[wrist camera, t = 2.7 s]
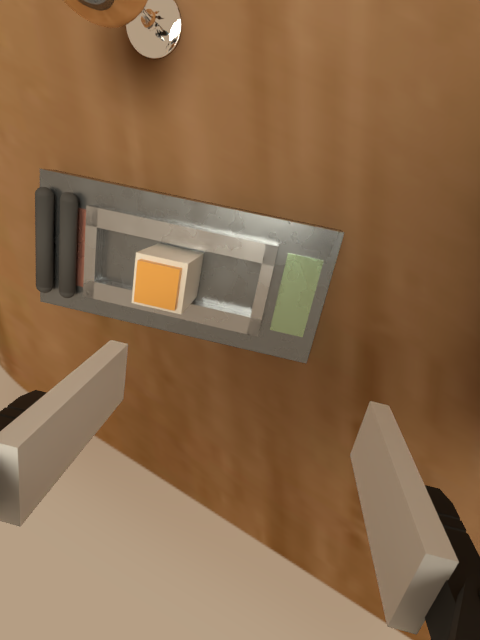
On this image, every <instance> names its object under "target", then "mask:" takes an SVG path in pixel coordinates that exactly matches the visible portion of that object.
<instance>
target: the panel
mask: <svg viewBox="0 0 480 640" xmlns="http://www.w3.org/2000/svg"><path fill="white" fill-rule="evenodd" d="M40 187H47V188H49V189H50V190H51V191H52V192H53V194H54V249H53V289H52V290H51V291H50V292H48V293H42V292H40V299H41V302H45V303H50V304H54V305H58V306H63V307H67V308H71V309H75V310H80V311H84V312H88V313H93V314H97V315H101V316H105V317H110V318H114V319H118V320H123V321H127V322H131V323H135V324H140V325H144V326H148V327H152V328H157V329H161V330H165V331H170V332H174V333H178V334H182V335H187V336H191V337H195V338H200V339H204V340H208V341H212V342H217V343H221V344H225V345H230V346H234V347H238V348H242V349H247V350H251V351H255V352H259V353H264V354H268V355H272V356H277V357H281V358H285V359H289V360H294V361H298V362H302V363H307V360H308V357H309V353H310V350H311V346H312V343H313V339H314V336H315V332H316V329H317V325H318V322H319V319H320V315H321V312H322V308H323V305H324V301H325V298H326V294H327V291H328V287H329V284H330V280H331V277H332V273H333V270H334V266H335V263H336V260H337V256H338V253H339V249H340V246H341V242H342V239H343V235H344V232H343V231H341V230H338V229H333V228H328V227H323V226H319V225H314V224H309V223H304V222H300V221H295V220H290V219H285V218H281V217H276V216H271V215H266V214H262V213H257V212H252V211H247V210H242V209H238V208H233V207H228V206H223V205H219V204H214V203H209V202H204V201H200V200H195V199H190V198H185V197H181V196H176V195H171V194H166V193H162V192H157V191H152V190H147V189H142V188H138V187H133V186H128V185H123V184H119V183H114V182H109V181H104V180H100V179H95V178H90V177H85V176H81V175H76V174H71V173H66V172H62V171H57V170H49V169H40ZM65 192H71V193H73V194H75V195H76V197H77V198H78V228H77V260H76V291H75V294H74V296H73V297H71V298H64V297H62V296H61V295H60V293H59V233H60V197H61V195H62V194H63V193H65ZM158 243H161V244H165V245H170V246H175V247H179V248H184V249H188V250H193V251H197V252H202V253H204V255H203V261H202V268H201V274H200V281H199V287H198V294H197V297H196V298H195V300H194V301H193V302H192V303H191V304H190V305H189V306H188V307H187V308H186V310H185V311H184V312H183V313H182V314H177V313H173V312H168V311H164V310H160V309H155V308H151V307H146V306H142V305H138V304H133V303H131V302H132V291H133V280H134V268H135V257H136V252H138V251H141V250H143V249H146V248H148V247H151V246H153V245H156V244H158Z"/></svg>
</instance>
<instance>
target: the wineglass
mask: <svg viewBox="0 0 480 640" xmlns="http://www.w3.org/2000/svg"><path fill="white" fill-rule="evenodd" d="M63 1H64V2H65V3H66V4H67V5H68V6H69V7H70V8H71V9H72V10H73V11H74V12H76V13H77V14H78V15H79V16H81V17H82V18H84V19H86V20H87V21H89V22H91V23H94V24H96V25H99V26H102V27H107V28H118V27H122V26H125V25H126V30H127V35H128V38H129V40H130V42H131V44H132V45H133V47H134V48H135V49H136V50H137V51H138V52H139V53H140V54H141V55H143V56H144V57H147V58H150V59H159V58H163V57H165V56H167V55H168V54H170V53H171V52H172V51H173V50H174V48H175V47H176V45H177V44H178V42H179V39H180V35H181V31H182V20H181V14H180V11H179V8H178V6H177V4H176V3H175V1H174V0H63Z"/></svg>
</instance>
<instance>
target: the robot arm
mask: <svg viewBox="0 0 480 640" xmlns="http://www.w3.org/2000/svg"><path fill="white" fill-rule="evenodd" d="M127 351H128V344H126V343H122V342H117V341H113V340H110V341H109V342H108V343H107V344H105V345H104V346H103V347H102V348H101V349H99V350H98V351H97V352H96V353H94V354H93V355H92V356H91V357H90V358H88V359H87V360H86V361H85V362H84V363H82V364H81V365H80V366H79V367H78V368H76V369H75V370H74V371H73V372H72V373H70V374H69V375H68V376H67V377H65V378H64V379H63V380H62V381H61V382H59V383H58V384H57V385H56V386H55V387H53V388H52V389H51V390H50V391H49V392H47V393H46V392H42V391H38V390H35V391H32V392H30V393H27V394H25V395H22V396H20V397H19V398H18V399H16V400H15V401H14V402H12V403H11V404H9V405H8V407H7V408H4V409H3V410H2V411H0V521H2V522H6V523H10V524H13V525H17V526H21V525H22V524H23V523H24V521H25V520H26V519H27V518H28V517H29V515H30V514H31V513H32V511H33V510H34V509H35V508H36V507H37V505H38V504H39V503H40V502H41V500H42V499H43V498H44V497H45V495H46V494H47V493H48V492H49V491H50V489H51V488H52V487H53V486H54V484H55V483H56V482H57V481H58V479H59V478H60V477H61V476H62V474H63V473H64V472H65V470H66V469H67V468H68V467H69V466H70V464H71V463H72V462H73V461H74V460H75V458H76V457H77V456H78V455H79V453H80V452H81V451H82V450H83V448H84V447H85V446H86V445H87V443H88V442H89V441H90V440H91V439H92V437H93V436H94V435H95V434H96V432H97V431H98V430H99V429H100V427H101V426H102V425H103V424H104V422H105V421H106V420H107V419H108V417H109V416H110V415H111V414H112V413H113V411H114V410H115V409H116V408H117V406H118V405H119V404H120V403H121V401H122V400H123V397H124V386H125V374H126V363H127ZM350 456H351V461H352V466H353V470H354V475H355V479H356V484H357V489H358V493H359V498H360V502H361V507H362V512H363V516H364V521H365V526H366V530H367V535H368V539H369V544H370V549H371V553H372V558H373V562H374V567H375V572H376V576H377V581H378V585H379V590H380V595H381V599H382V604H383V608H384V613H385V618H386V622H387V626H388V627H391V628H395V629H399V630H402V631H406V632H410V633H413V634H417V633H418V632H419V630H420V628H421V626H422V625H423V623H424V621H425V620H426V623H427V627H428V630H429V633H430V636H431V640H480V556H479V555H478V553H477V551H476V549H475V547H474V545H473V543H472V541H471V539H470V537H469V535H468V534H467V533H466V529H465V527H464V525H463V523H462V521H460V517H459V515H458V513H457V511H456V509H455V507H454V505H453V503H452V502H451V501H450V500H449V499H448V498H447V497H446V496H445V494H444V493H443V492H442V491H441V490H440V489H438V488H434V487H430V486H426V485H424V483H423V480H422V478H421V476H420V474H419V472H418V469H417V467H416V465H415V463H414V460H413V458H412V456H411V454H410V451H409V449H408V447H407V445H406V442H405V440H404V438H403V436H402V433H401V431H400V429H399V427H398V425H397V422H396V420H395V418H394V416H393V413H392V411H391V409H390V407H389V405H385V404H381V403H376V402H372V401H370V403H369V405H368V408H367V411H366V413H365V416H364V419H363V421H362V424H361V427H360V430H359V432H358V435H357V438H356V440H355V443H354V446H353V448H352V451H351V454H350Z"/></svg>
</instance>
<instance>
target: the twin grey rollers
mask: <svg viewBox="0 0 480 640" xmlns="http://www.w3.org/2000/svg"><path fill="white" fill-rule="evenodd" d="M77 228H78V198H77V197H76V195H75V194H73V193H71V192H65V193H63V194H62V195H61V197H60V233H59V293H60V295H61V296H62V297H64V298H71V297H73V296H74V294H75V291H76V260H77ZM35 229H36V287H37V289H38V290H39V291H40V292H42V293H48V292H50V291H51V290H52V289H53V249H54V194H53V192H52V191H51V190H50V189H49V188H47V187H40V188H38V189H37V190H36V192H35Z"/></svg>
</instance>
